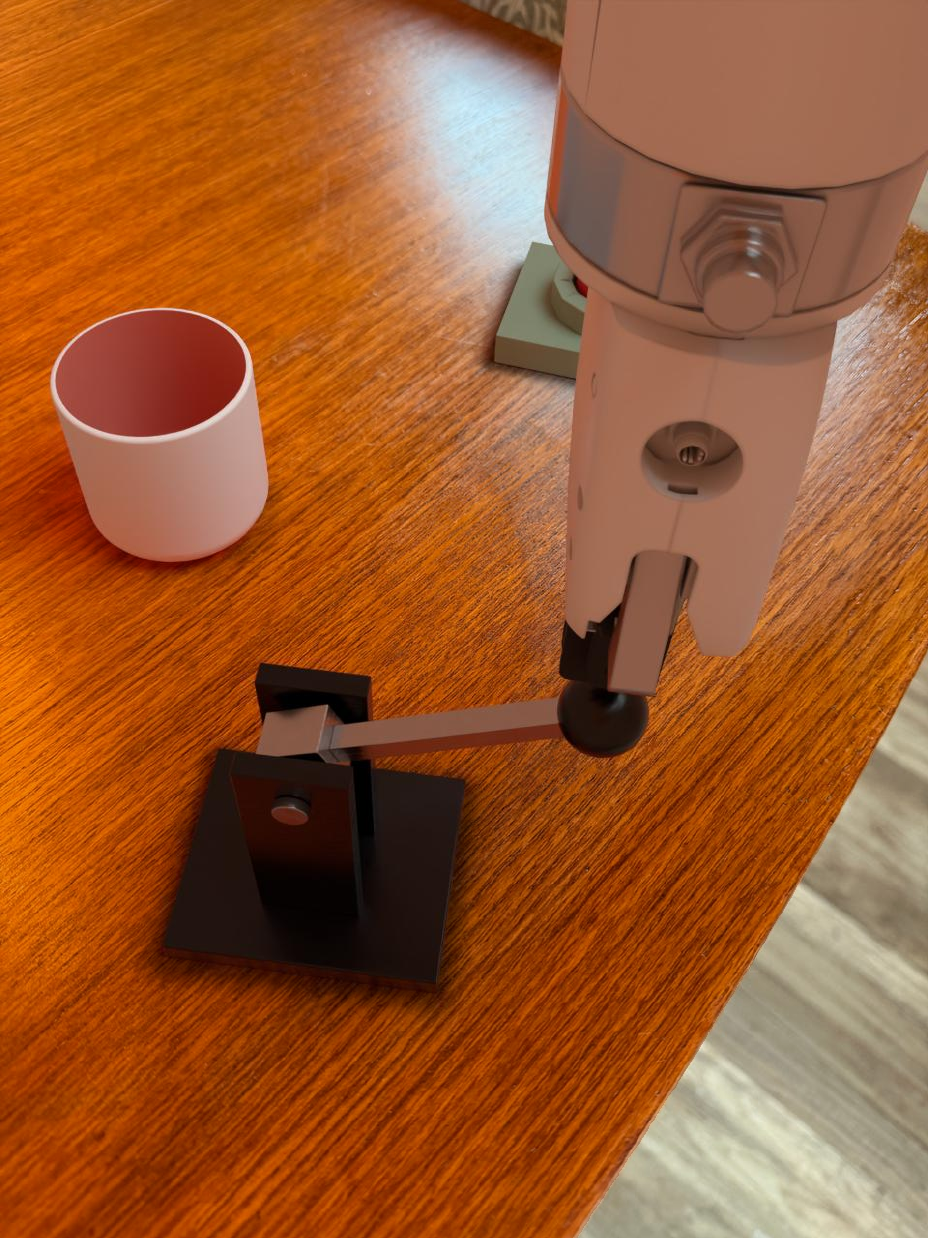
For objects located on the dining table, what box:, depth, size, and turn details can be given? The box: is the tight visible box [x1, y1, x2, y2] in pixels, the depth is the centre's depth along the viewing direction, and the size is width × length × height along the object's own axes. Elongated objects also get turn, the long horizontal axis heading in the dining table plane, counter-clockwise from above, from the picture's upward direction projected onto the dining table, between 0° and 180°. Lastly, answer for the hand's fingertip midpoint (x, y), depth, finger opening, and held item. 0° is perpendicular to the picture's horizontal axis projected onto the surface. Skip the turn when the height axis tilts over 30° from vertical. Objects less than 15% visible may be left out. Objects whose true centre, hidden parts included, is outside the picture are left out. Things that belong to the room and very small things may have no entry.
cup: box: [49, 307, 269, 563], centre depth 64 cm, size 10×10×10 cm
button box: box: [493, 241, 587, 380], centre depth 77 cm, size 12×10×4 cm
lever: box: [255, 680, 650, 766], centre depth 44 cm, size 15×3×3 cm, turn 83°
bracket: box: [161, 662, 467, 993], centre depth 50 cm, size 12×10×13 cm
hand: (607, 664), depth 40 cm, fingers closed
